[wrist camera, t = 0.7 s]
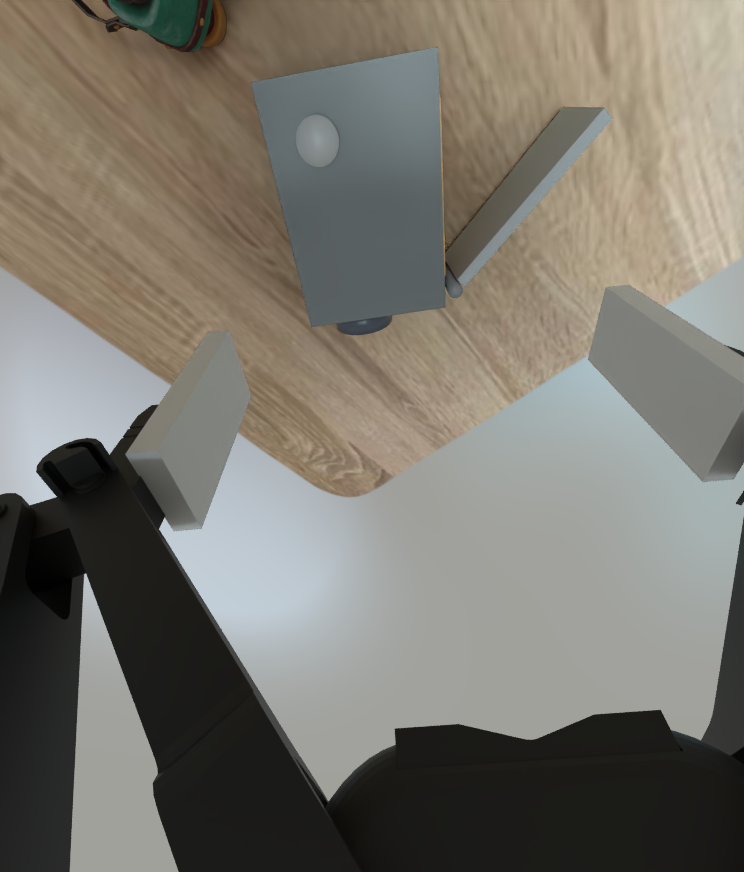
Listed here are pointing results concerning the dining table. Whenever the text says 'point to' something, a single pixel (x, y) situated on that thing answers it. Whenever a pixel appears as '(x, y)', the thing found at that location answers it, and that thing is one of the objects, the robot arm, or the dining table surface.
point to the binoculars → (168, 21)
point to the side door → (522, 191)
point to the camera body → (361, 186)
